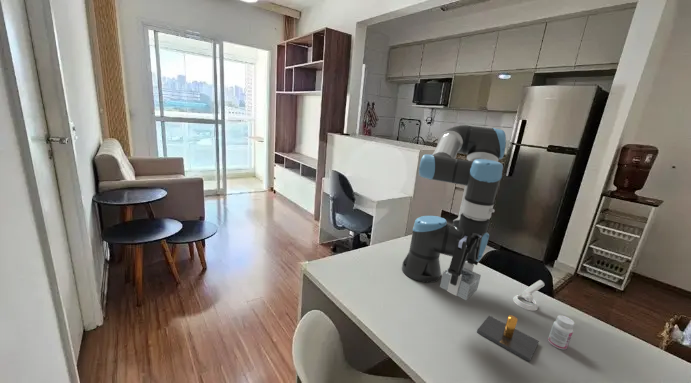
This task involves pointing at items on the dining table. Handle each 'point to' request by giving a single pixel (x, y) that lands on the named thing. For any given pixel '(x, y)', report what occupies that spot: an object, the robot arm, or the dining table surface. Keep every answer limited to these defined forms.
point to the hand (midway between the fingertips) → (458, 287)
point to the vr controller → (529, 296)
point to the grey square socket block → (463, 282)
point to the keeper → (508, 336)
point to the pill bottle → (561, 332)
